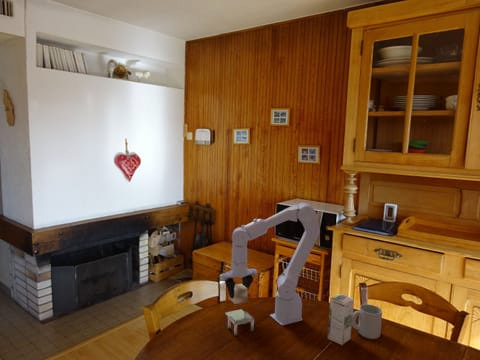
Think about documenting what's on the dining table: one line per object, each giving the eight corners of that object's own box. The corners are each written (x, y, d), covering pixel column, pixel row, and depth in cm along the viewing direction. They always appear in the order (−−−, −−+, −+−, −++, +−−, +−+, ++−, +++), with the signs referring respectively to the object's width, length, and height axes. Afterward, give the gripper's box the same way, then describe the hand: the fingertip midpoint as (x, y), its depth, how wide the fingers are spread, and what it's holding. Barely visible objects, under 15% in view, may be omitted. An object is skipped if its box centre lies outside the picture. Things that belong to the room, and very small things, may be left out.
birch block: (240, 296, 134) (241, 283, 133) (247, 301, 129) (247, 288, 129) (229, 298, 131) (229, 285, 131) (235, 304, 127) (235, 290, 126)
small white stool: (245, 322, 126) (246, 311, 126) (254, 330, 121) (254, 318, 121) (227, 327, 123) (227, 315, 122) (234, 335, 118) (235, 323, 117)
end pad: (241, 310, 136) (241, 309, 136) (250, 318, 130) (250, 317, 130) (225, 313, 132) (225, 312, 132) (233, 322, 126) (233, 321, 126)
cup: (382, 340, 118) (384, 315, 117) (352, 337, 119) (353, 312, 118) (377, 329, 125) (378, 305, 124) (348, 326, 126) (349, 302, 125)
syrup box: (335, 332, 122) (338, 292, 120) (351, 339, 118) (354, 298, 116) (326, 338, 118) (329, 297, 116) (342, 346, 114) (345, 303, 112)
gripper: (251, 254, 136) (249, 288, 137) (216, 259, 129) (215, 295, 130) (260, 260, 129) (259, 295, 131) (225, 266, 123) (224, 303, 124)
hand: (238, 296), depth 130 cm, fingers closed on birch block, 5 cm apart
